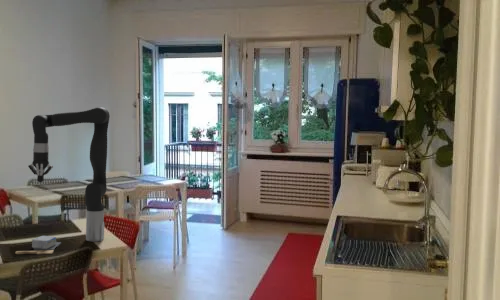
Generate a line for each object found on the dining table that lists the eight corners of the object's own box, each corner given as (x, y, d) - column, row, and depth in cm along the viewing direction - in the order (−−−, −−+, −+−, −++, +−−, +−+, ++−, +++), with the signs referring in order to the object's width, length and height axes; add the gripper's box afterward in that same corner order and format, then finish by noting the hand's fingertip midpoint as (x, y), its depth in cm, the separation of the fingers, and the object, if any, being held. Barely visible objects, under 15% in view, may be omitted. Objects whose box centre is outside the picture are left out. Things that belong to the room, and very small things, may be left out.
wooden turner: (53, 251, 218) (53, 249, 218) (52, 253, 214) (52, 251, 214) (17, 252, 214) (17, 250, 213) (14, 255, 209) (14, 253, 209)
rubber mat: (61, 243, 232) (61, 242, 232) (53, 250, 220) (53, 249, 220) (42, 242, 231) (42, 241, 231) (33, 249, 219) (33, 248, 219)
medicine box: (31, 247, 220) (46, 249, 218) (31, 239, 220) (46, 241, 218) (42, 243, 228) (56, 245, 226) (42, 235, 228) (56, 237, 226)
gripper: (55, 151, 239) (55, 181, 240) (31, 150, 237) (30, 180, 239) (51, 152, 231) (50, 183, 233) (25, 151, 230) (25, 182, 231)
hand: (40, 182), depth 236 cm, fingers closed
